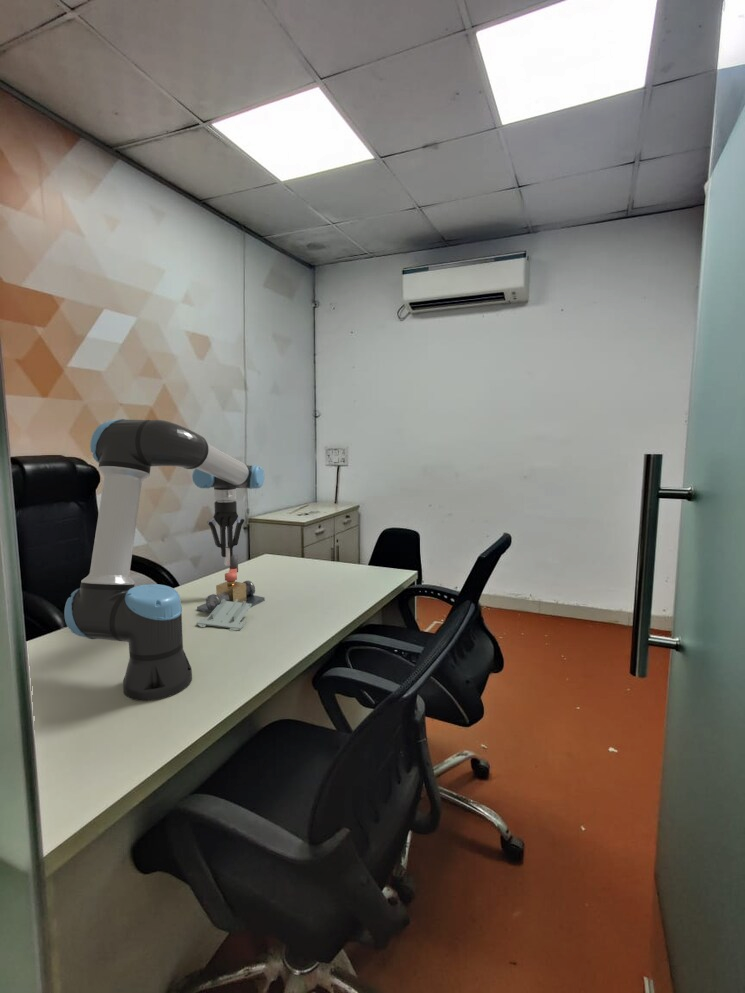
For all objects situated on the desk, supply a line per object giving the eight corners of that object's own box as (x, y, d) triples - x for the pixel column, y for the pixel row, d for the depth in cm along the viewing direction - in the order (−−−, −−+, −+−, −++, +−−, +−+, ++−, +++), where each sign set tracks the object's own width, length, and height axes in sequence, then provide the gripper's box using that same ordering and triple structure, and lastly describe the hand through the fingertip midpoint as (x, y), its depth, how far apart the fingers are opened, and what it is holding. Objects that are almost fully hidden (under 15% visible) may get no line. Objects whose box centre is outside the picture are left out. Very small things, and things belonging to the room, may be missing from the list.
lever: (236, 580, 165) (235, 563, 164) (224, 581, 164) (223, 564, 164) (240, 570, 177) (239, 554, 177) (228, 571, 177) (228, 555, 176)
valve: (228, 617, 157) (227, 591, 156) (197, 610, 163) (196, 584, 162) (264, 600, 173) (263, 576, 172) (234, 594, 179) (234, 570, 178)
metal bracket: (216, 593, 161) (258, 598, 158) (219, 608, 163) (260, 612, 160) (193, 621, 148) (238, 626, 145) (196, 636, 151) (240, 642, 148)
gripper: (209, 503, 165) (211, 570, 168) (246, 500, 172) (248, 565, 175) (204, 500, 171) (206, 565, 174) (240, 498, 178) (241, 560, 181)
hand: (227, 565), depth 175 cm, fingers closed
